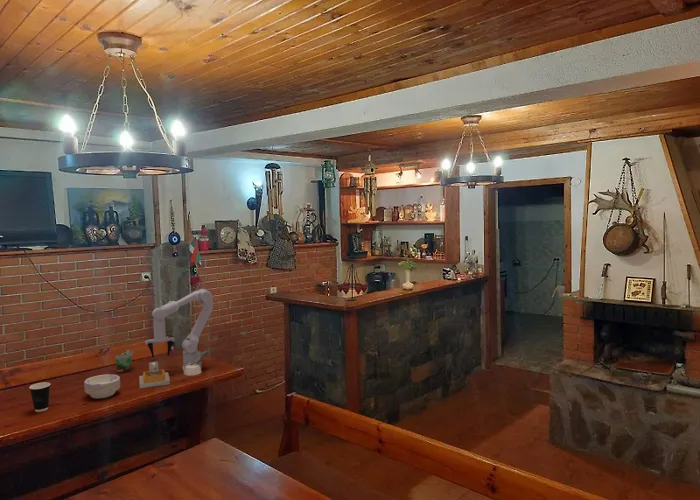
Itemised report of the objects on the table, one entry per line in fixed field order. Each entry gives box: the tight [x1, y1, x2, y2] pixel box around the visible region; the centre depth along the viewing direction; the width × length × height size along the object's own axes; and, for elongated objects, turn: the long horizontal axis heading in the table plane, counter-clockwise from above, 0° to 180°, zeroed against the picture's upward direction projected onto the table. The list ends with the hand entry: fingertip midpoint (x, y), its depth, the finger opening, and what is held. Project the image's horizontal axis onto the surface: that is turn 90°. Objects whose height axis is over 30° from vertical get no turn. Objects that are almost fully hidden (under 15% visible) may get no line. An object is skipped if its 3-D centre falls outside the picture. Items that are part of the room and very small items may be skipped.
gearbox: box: [138, 369, 171, 389], centre depth 257 cm, size 14×14×4 cm
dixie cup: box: [29, 381, 51, 413], centre depth 222 cm, size 8×8×11 cm
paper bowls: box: [83, 373, 121, 400], centre depth 239 cm, size 15×15×8 cm
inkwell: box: [183, 349, 212, 377], centre depth 273 cm, size 9×18×10 cm, turn 149°
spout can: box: [148, 360, 160, 376], centre depth 255 cm, size 4×7×8 cm
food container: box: [114, 348, 134, 374], centre depth 276 cm, size 12×6×10 cm, turn 179°
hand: (160, 356), depth 269 cm, fingers open, 7 cm apart
